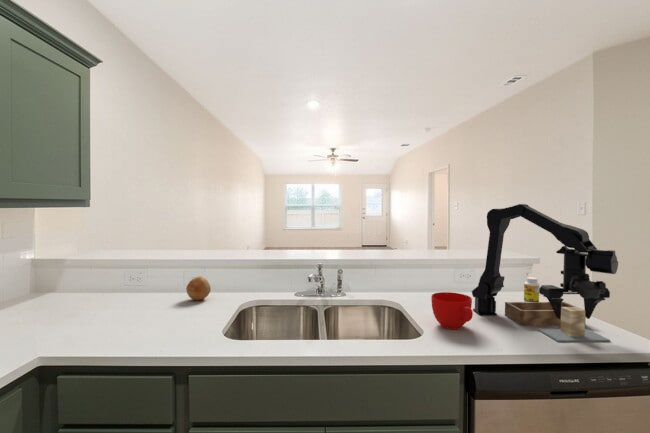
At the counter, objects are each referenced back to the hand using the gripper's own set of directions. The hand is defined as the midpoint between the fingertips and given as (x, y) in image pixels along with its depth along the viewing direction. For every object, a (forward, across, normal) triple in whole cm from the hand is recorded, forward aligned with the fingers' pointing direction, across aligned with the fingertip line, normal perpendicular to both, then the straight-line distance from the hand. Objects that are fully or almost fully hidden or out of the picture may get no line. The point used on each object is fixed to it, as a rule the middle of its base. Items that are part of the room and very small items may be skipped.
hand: (573, 318), depth 114 cm
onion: (+6, -132, +44) cm, 139 cm away
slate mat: (+6, 0, 0) cm, 6 cm away
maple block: (+5, 0, 0) cm, 5 cm away
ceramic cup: (+6, -34, +8) cm, 36 cm away
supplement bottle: (+6, +9, +38) cm, 40 cm away
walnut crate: (+6, 0, +15) cm, 16 cm away
